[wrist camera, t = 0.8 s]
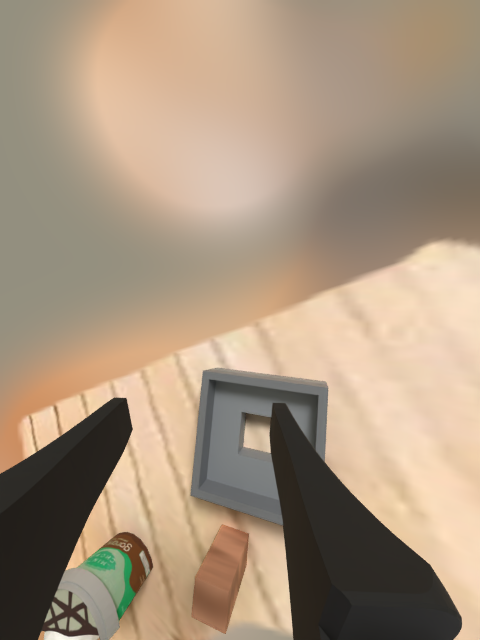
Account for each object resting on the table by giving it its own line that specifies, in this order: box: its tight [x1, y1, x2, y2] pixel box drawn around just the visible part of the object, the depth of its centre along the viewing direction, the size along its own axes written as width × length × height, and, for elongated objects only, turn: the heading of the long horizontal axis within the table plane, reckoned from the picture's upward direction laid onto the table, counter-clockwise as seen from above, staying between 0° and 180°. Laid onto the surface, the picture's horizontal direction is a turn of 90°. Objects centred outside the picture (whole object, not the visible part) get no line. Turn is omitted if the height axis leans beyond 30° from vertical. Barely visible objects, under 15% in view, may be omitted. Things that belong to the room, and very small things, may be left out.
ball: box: [44, 631, 99, 640], centre depth 34 cm, size 8×8×8 cm
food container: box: [41, 532, 153, 640], centre depth 32 cm, size 12×6×10 cm, turn 104°
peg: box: [192, 525, 249, 634], centre depth 29 cm, size 4×4×8 cm
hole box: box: [191, 368, 328, 525], centre depth 30 cm, size 16×16×5 cm
